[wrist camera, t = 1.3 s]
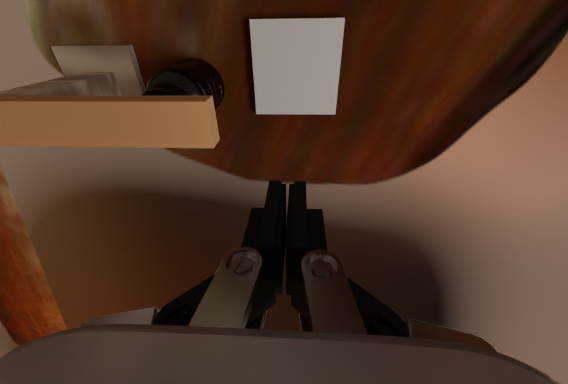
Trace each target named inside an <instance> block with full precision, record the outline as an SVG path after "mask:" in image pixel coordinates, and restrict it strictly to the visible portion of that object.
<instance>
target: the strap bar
mask: <svg viewBox="0 0 568 384" xmlns="http://www.w3.org/2000/svg"><path fill="white" fill-rule="evenodd" d="M219 140H220V139H219V133H218V127H217V120H216V114H215V108H214V102H213V96H0V146H51V147H52V146H55V147H58V146H59V147H142V148H143V147H145V148H146V147H147V148H214V147H215V146H216V144H217V143H218V141H219Z"/></svg>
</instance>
